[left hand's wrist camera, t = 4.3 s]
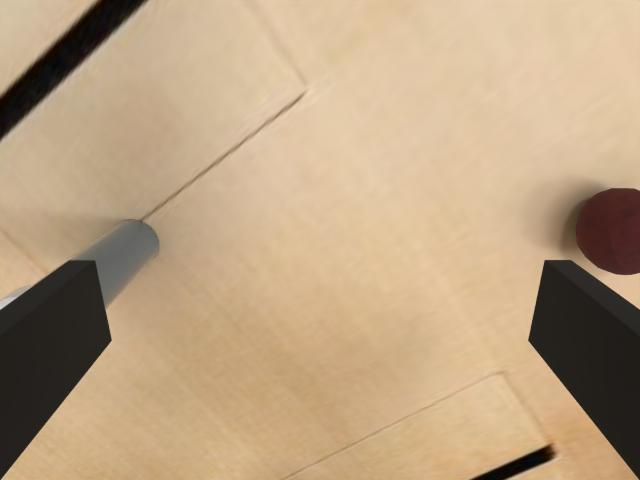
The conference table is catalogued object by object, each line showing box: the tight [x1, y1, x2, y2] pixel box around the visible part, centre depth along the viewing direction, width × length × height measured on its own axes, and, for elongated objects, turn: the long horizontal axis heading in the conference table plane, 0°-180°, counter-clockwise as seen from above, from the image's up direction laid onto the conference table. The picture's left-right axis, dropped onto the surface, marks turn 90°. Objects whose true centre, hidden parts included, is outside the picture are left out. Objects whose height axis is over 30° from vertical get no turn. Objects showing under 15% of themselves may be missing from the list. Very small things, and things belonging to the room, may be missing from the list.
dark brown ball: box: [576, 188, 640, 275], centre depth 38 cm, size 7×8×7 cm
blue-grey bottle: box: [33, 220, 159, 310], centre depth 35 cm, size 5×5×16 cm
